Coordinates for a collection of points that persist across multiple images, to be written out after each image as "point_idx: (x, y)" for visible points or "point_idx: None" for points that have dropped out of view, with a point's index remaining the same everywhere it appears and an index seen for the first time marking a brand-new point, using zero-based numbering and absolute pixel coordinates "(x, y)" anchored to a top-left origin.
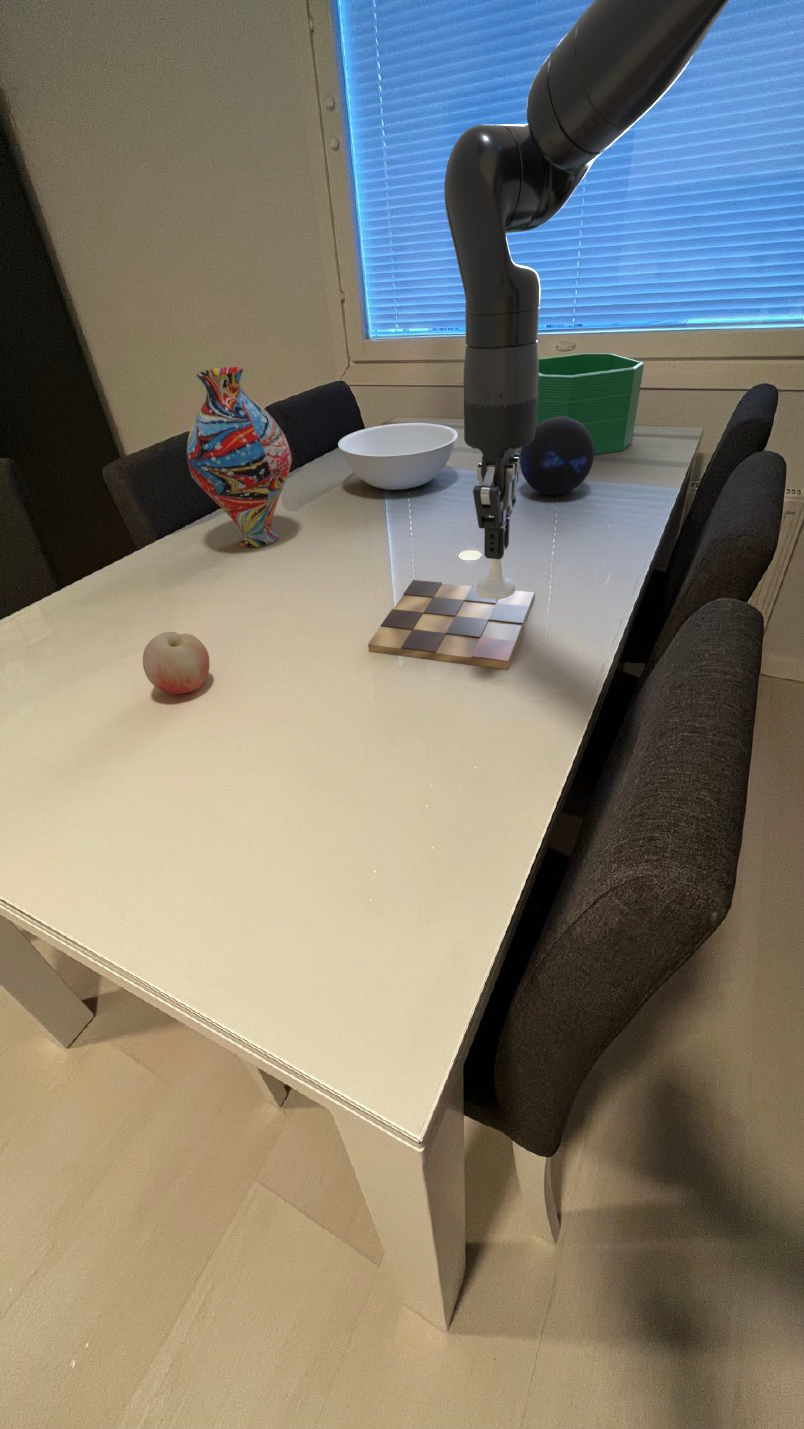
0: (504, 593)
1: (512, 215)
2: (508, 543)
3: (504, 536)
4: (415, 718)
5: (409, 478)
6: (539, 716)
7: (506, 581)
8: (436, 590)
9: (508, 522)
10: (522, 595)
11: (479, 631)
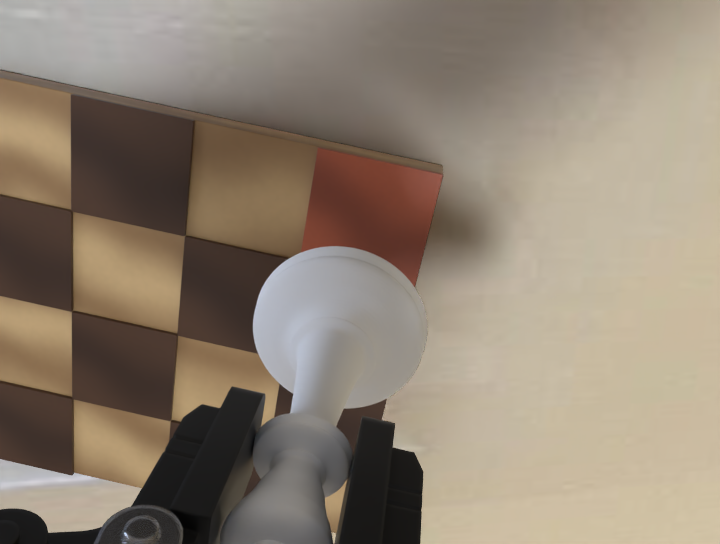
0: (415, 303)
1: None
2: (235, 396)
3: (242, 452)
4: (668, 403)
5: None
6: (709, 69)
7: (327, 301)
8: (29, 391)
9: (210, 502)
10: None
11: (265, 264)
